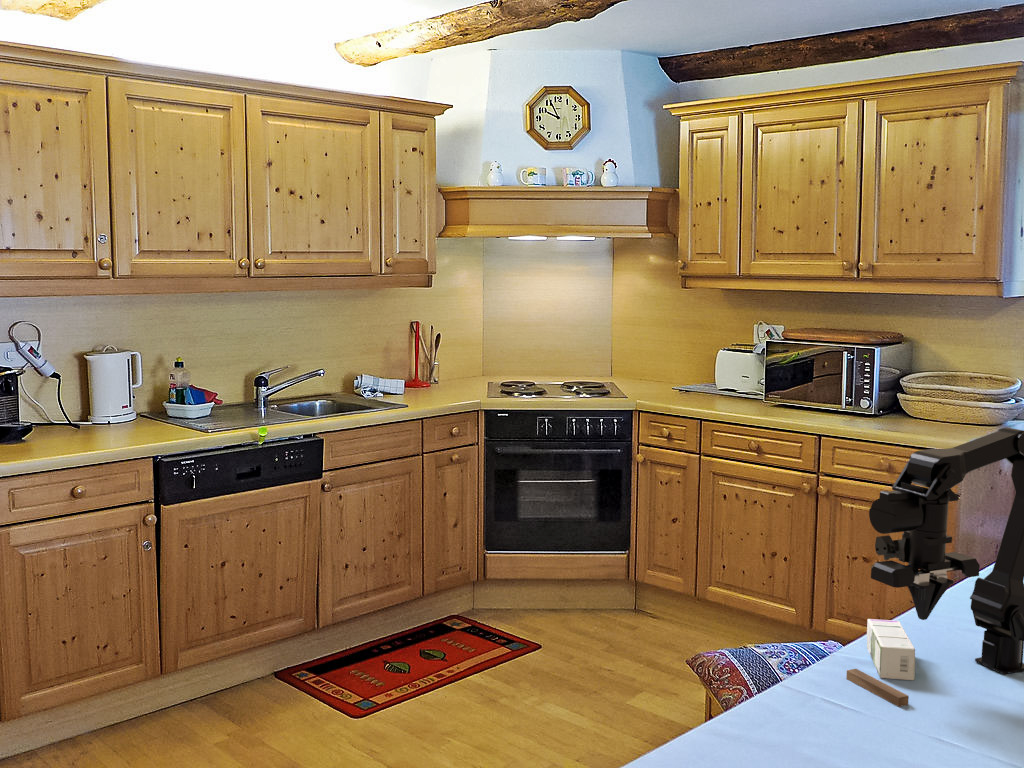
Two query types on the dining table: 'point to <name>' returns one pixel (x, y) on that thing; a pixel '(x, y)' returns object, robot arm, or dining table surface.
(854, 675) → the strip
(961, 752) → the dining table surface
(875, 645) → the syrup box
